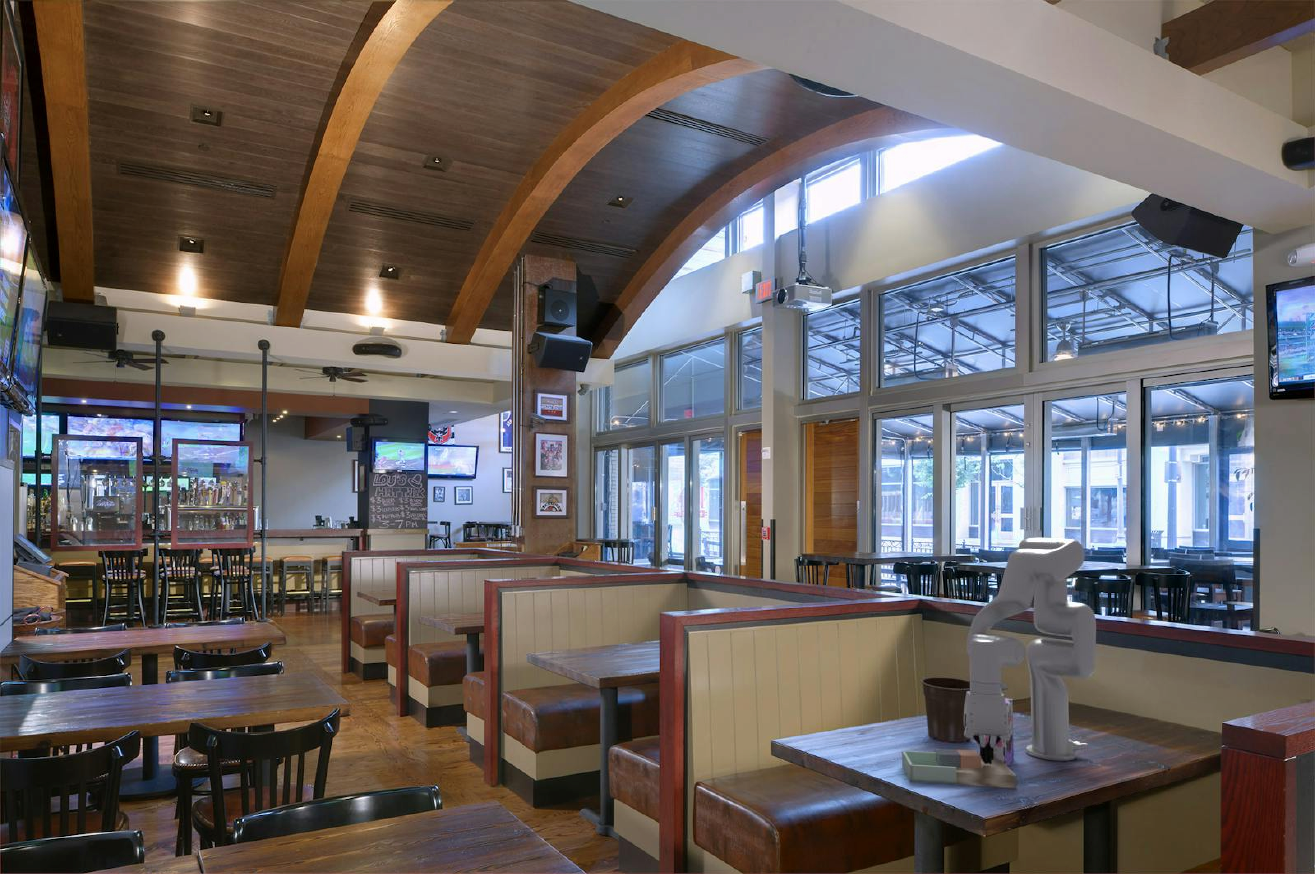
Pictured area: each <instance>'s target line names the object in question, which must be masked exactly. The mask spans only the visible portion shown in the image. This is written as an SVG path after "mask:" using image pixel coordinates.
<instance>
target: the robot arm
mask: <svg viewBox="0 0 1315 874" xmlns="http://www.w3.org/2000/svg"><path fill="white" fill-rule="evenodd" d="M1085 554H1086V553H1085V549H1084V546H1083V545H1082V544H1081V542H1079V541H1078V540H1075V539H1072V538H1055V537H1054V538H1052V537H1028V538H1024V539H1022V540H1021V541H1020V542H1019V544H1018V549H1014V550H1013V551H1012V552H1011V553H1010V555H1009V556H1008V559H1007V562H1006V566H1005V570H1004V573H1003V577H1002V581H1001V584H1000V586H999V590H998V594H997V596H996V597H995V598H993V599H992V600H990V601H989V602H988V603H987V604H986V605H984V606H983V607H982V609H981V610H979V611H978V613H976V615H975V616H974V618H973V620H972V622H971V625H970V627H969V631H968V636H967V638H966V639H967V640H966V651H967V654H968V656H969V681H970V691H967V693H966V698H965V706H964V727H965V732H964V736H965V737H967V738H970V739H971V740H974V741H976V743H977V744H978V745H979V754H980V755H981V759H982V761H983V762H984V763H985V764H987V763H989V764H992V760H994V747H995V745H996V744H997V743H998V742H999V741H1002V740H1008V739H1009V735H1008V730H1009V725H1008V714H1007V706H1006V701H1005V698H1006V697H1005V694H1004V693H1003V692H1004V691H1005V690H1008V688H1009V687H1008V684H1005V683H1003V681H1002V667H1010V668H1011V667H1012V668H1013V667H1016V666H1017V667H1018V666H1019V665H1020V664H1021V663H1022V662H1023V661H1024V660H1025V657H1026V662H1027V668H1028V672H1029V673H1028V674H1029V678H1030V679H1029V681H1030V706H1031V707H1030V719H1031V727H1030V728H1031V744H1029V745H1027V746H1026V747H1025V751H1026V753H1027V754H1029V756H1032V757H1035V758H1039V759H1044V760H1049V761H1056V762H1058V761H1059V762H1061V761H1062V762H1063V761H1072V760H1074V759H1076V757H1077V754H1076V752H1077V750H1078V751H1081V752H1082V751H1083V752H1084V751H1085V752H1088V751H1089V745H1088V743H1087V742H1086V743H1085V742H1084V743H1083V742H1081V743H1080V741H1073V740H1072V739H1070V722H1069V720H1070V719H1069V717H1070V716H1069V691H1068V688H1067V686H1066V683H1065V682H1064V681H1063V678H1062V677H1066V678H1073V679H1078V680H1079V679H1080V680H1087V679H1089V678H1090V677H1092V675H1093V674H1094V671H1095V667H1096V652H1097V651H1096V650H1097V649H1096V647H1097V646H1096V645H1097V641H1096V640H1097V621H1096V615H1095V612H1094V611H1093V609H1092V608H1091V607H1090V606H1089V605H1087V604H1085V603H1081V602H1073V601H1068V584H1067V580H1066V578H1068V577H1069V576H1071V575H1072V574H1074V573H1076V571H1078V570H1079V569H1080V568H1081V567H1082V566H1083V564H1084V562H1085V559H1086V557H1085ZM1032 604H1033V624H1034V627H1035V629H1036V630H1037V631H1038V632H1040V633H1043V634H1047V635H1054V636H1060V637H1061V636H1062V637H1069V638H1071V639H1072V641H1064V640H1059V639H1052V638H1051V639H1050V638H1037V639H1036V638H1035V639H1033V640H1031V641H1030V642H1029V643H1028V644H1027V645H1026V646H1027V647H1026V648H1025V646H1024V643H1023V642H1022V641H1021V640H1019V639H1017V638H1016V637H1012V636H1008V635H1007V636H1005V635H1000V634H992V633H989V632H990V630H991V629H992V628H993V626H994V625H996V624H997V623H998V622H1000V621H1001V620H1004V619H1007V618H1009V617H1012V616H1016V615H1018V614H1021V613H1024V612H1027V611H1028V610H1029V609H1030V608H1031V606H1032ZM984 735H988V743H987V745H986V744H985V739H984Z"/></svg>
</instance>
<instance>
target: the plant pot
mask: <svg viewBox="0 0 1315 874" xmlns="http://www.w3.org/2000/svg"><path fill="white" fill-rule="evenodd" d="M920 683H921V684H922V691H923V695H924V701H925V711H926V722H927V723H926V724H927V734H928V736H929V738H931V739H933V740H936V739H937V740H939V742H945V743H949V744H950V743H951V744H958V743H959V744H962V743H966V742H970V741H971V740H972V739H970V738H967V737H965V736H964V732H965V727H964V706H965V698H966V693H967V691H970V680H966V679H962V678H955V677H942V676H941V677H939V676H936V677H935V676H934V677H933V676H932V677H924V678H922V679H921V681H920Z"/></svg>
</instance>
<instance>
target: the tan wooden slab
mask: <svg viewBox="0 0 1315 874" xmlns="http://www.w3.org/2000/svg"><path fill="white" fill-rule="evenodd" d="M981 766H982V769H977V768H961V767H956V777H957V785H956V786H973V787H974V786H975V787H988V788H989V787H990V788H993V787H994V788H1004V789H1005V788H1007V789H1008V788H1009V789H1017V775H1016V774H1015V773H1014V771H1013V770H1011V768H1010V766H1009V767H1008V766H1007V765H1006V764H1005V763H1004V762H1003V761H1002V760H992V764H989V763H987V764H985V763H984V762H983V761H982V759H981Z"/></svg>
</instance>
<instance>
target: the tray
mask: <svg viewBox="0 0 1315 874" xmlns="http://www.w3.org/2000/svg"><path fill="white" fill-rule="evenodd" d="M901 751H902V752H901V759H902V762H901V764H902V765H901V766H902V769H903V770H904V772H905V775H906V776H907V777H908V780H909V782H911V783H922V784H923V783H924V784H938V785H939V784H941V785H955V786H958V785H957V777H956V767H945V766H939V765H938V763H937V762H936V753H935V751H916V750H901Z"/></svg>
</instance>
